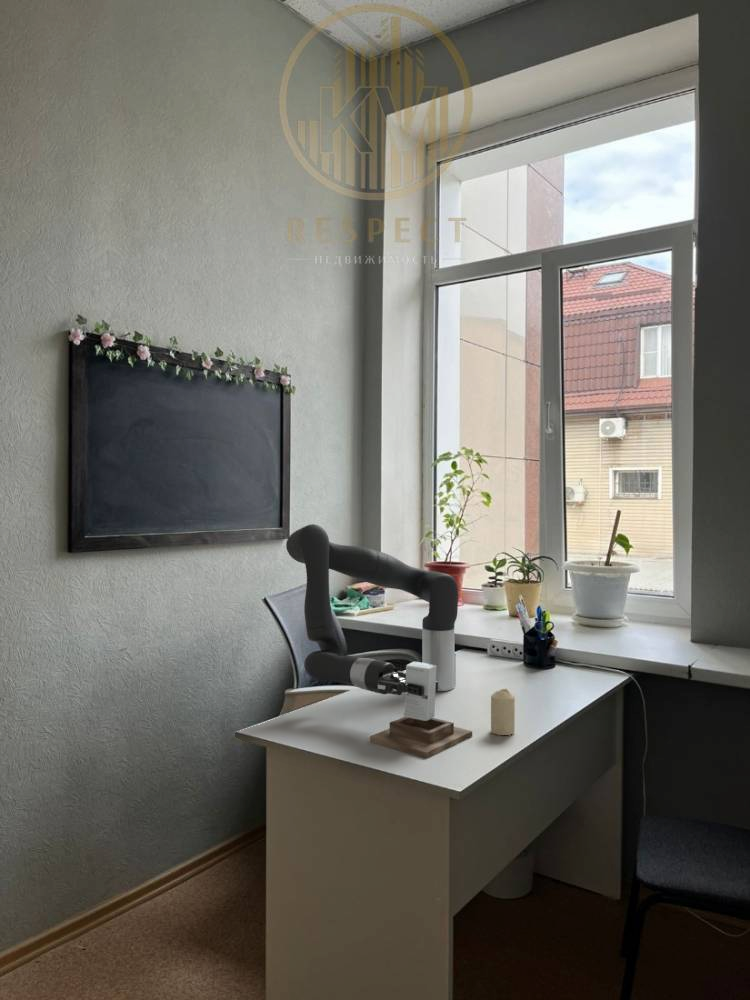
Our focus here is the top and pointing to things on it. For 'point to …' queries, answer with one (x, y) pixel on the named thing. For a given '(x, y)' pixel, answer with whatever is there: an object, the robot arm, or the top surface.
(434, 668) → the skincare box
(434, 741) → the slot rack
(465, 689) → the top surface
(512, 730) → the candle
